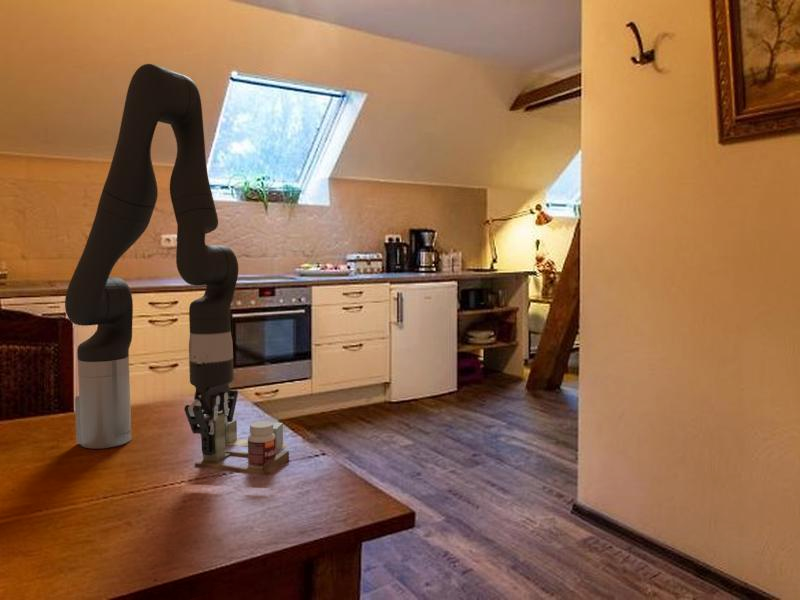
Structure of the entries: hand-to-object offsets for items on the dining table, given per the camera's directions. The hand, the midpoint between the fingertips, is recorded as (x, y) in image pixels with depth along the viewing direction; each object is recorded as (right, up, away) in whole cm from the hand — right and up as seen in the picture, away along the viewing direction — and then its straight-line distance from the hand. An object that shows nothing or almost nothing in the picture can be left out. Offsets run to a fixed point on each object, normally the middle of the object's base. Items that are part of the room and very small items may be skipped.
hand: (214, 450), depth 109 cm
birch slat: (+4, -2, +9) cm, 10 cm away
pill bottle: (+9, -3, -2) cm, 10 cm away
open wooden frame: (+5, -3, -1) cm, 6 cm away
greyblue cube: (+8, -1, +8) cm, 12 cm away
